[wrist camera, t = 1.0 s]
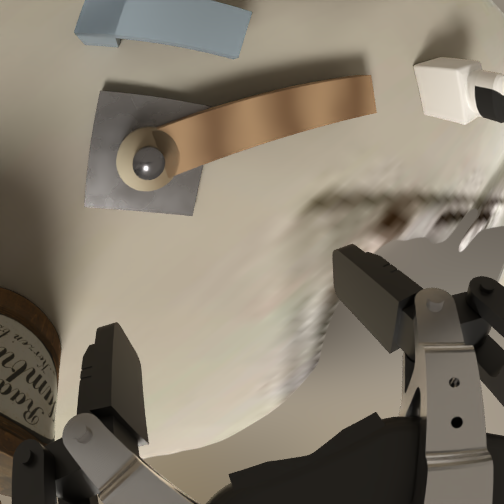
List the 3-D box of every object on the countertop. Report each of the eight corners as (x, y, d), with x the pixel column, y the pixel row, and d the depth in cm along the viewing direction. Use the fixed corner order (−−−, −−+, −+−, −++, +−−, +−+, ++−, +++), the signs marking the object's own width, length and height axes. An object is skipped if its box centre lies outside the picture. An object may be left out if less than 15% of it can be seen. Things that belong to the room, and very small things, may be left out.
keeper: (85, 44, 18) (73, 32, 13) (98, 3, 16) (91, -17, 12) (219, 64, 23) (238, 57, 19) (231, 25, 21) (252, 12, 17)
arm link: (130, 193, 24) (130, 201, 23) (109, 141, 22) (106, 144, 20) (364, 115, 29) (377, 117, 27) (357, 70, 26) (369, 70, 24)
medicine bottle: (449, 102, 33) (518, 120, 24) (422, 115, 33) (498, 136, 23) (439, 56, 29) (512, 66, 19) (411, 65, 29) (492, 74, 19)
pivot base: (85, 203, 24) (77, 223, 20) (101, 91, 20) (94, 88, 16) (190, 212, 29) (201, 232, 25) (213, 107, 25) (229, 109, 21)
